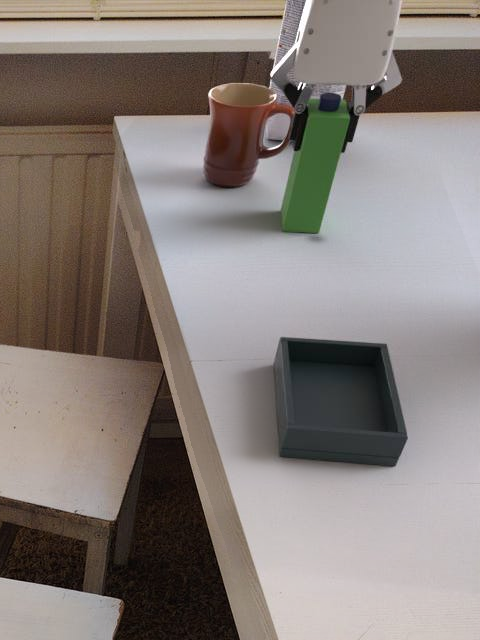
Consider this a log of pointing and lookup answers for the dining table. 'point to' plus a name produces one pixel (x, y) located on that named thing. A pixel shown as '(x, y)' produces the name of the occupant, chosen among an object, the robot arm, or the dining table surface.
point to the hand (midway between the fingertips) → (318, 145)
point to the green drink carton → (315, 164)
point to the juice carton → (289, 30)
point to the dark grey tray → (337, 402)
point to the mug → (240, 132)
